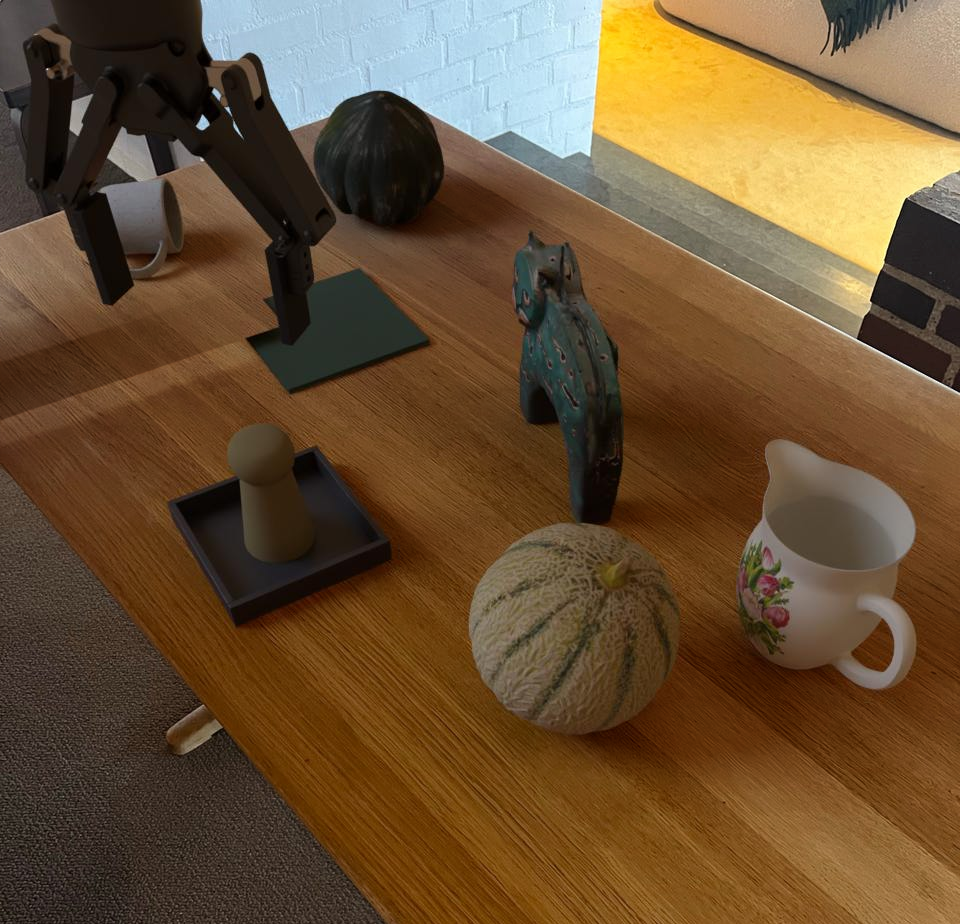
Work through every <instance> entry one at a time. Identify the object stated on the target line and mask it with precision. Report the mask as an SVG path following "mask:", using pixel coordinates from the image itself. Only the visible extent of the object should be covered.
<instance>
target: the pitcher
mask: <svg viewBox="0 0 960 924" xmlns="http://www.w3.org/2000/svg"><path fill="white" fill-rule="evenodd" d="M764 451H765V452H764V454H765V455H764V457H765V459H766V460H765V461H766V465H767V470H768V474H769V476H770V477H769V482H768V485H767V488H766V491H765V493H764V496H763V502H762V517H761V520H760V521H759V522H758V524H757V525H756V526H755V527H754V529H753V531H752V532H751V534H750V535H749V537H748V539H747V542H746V544H745V546H744V549H743V551H742V554H741V558H740V560H739V565H738V570H737V574H736V575H737V576H736V592H735V593H736V604H737V605H736V606H737V611H738V615H739V619H740V623H741V626H742V629H743V631H744V633H745V635H746V637H747V638H748V640H749V641H750V643H751V644H752V645H753V646H754V647H755V649H756V650H757V651H758V652H759V654H760V655H762V656H763V657H764V658H765V659H767V660H768V661H769V662H772V663H773V664H775V665H777V666H780V667H783V668H787V669H791V670H809V669H814V668H817V667H821V666H826V665H828V664H829V665H831V666H833V667H834V668H835V669H836V670H837V671H839V672H840V673H841V674H842V675H843V676H844V677H846V678H847V679H848V680H850V681H851V682H852V683H854V684H856V685H858V686H860V687H862V688H865V689H868V690H872V691H883V690H888V689H892V688H894V687H895V686H897V685H898V684H900V683H901V682H902V681H903V680H904V679H905V678H906V676H907V675H908V673H909V671H910V669H911V668H912V667H913V666H912V665H913V663H914V661H915V660H914V659H915V657H916V652H917V635H916V631H915V626H914V624H913V622H912V618H910V616H909V614H908V612H907V611H906V610H905V609H904V608H903V607H902V605H900V604H899V603H897V602H896V601H895V600H893V597H894V596H895V595H894V594H895V591H896V587H897V582H898V572H899V571H898V570H899V564H900V563H901V562H902V561H903V560H904V559H905V558H906V556H907V555H908V554H909V552H910V551H911V549H912V547H913V545H914V544H915V541H916V537H917V525H916V524H917V523H916V519H915V517H914V514H913V512H912V510H911V508H910V506H908V504H907V503H906V501H905V500H904V499H903V497H901V496H900V495H899V493H898V492H896V491H895V490H894V489H893V488H892V487H891V486H890V485H888V484H887V483H886V482H884V481H882V480H881V479H879V478H877V477H876V476H874V475H872V474H870V473H868V472H867V471H865V470H861V469H859V468H856V467H853V466H850V465H847V464H843V463H840V462H836V461H832V460H829V459H827V458H824V457H822V456H820V455H818V454H817V453H815V452H814V451H812V450H810V449H809V448H807V447H805V446H803V445H801V444H799V443H796V442H794V441H792V440H789V439H783V438H777V439H773V440H771V441H769V442H768V443H767V444H766V446H765V449H764ZM882 620H884V621H885V622H886V624H887V625H888V627H889V629H890V632H891V634H892V638H893V644H894V646H893V647H894V649H893V655H892V656H893V657H892V659H891V662H890V664H889V665H888V667H887V668H886V669H885V671H880V670H879V671H878V670H874V669H871V668H868V667H866V666H865V665H863V664H862V663H860V662H859V661H858V660H857V659H856V658H855V657H854V656H853V655H852V652H853V651H854V650H855V649H856V648H857V647H859V646H860V645H861V644H862V643H864V641H865V640H867V639H868V638H869V637H870V636H871V635H872V633H873V632H874V630H875V629H876V628H877V627H878V625H879V624H880V623H881V622H882Z"/></svg>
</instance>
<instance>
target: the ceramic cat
mask: <svg viewBox="0 0 960 924" xmlns="http://www.w3.org/2000/svg"><path fill="white" fill-rule="evenodd" d="M528 232H529V233H528V235H527V236H528V238H527V239H528V240H527V242H526V244H525V246H523V247H522V248H520V249H518V250H517V251H516V254H515V256H514V261H513V276H512V277H513V279H512V280H513V282H512V287H511V301H512V306H513V307H512V308H513V311H514V313H515V314H516V315H517V317H518V323H519V324H520V325H522V326H523V327H524V328H525V329H524V333H523V340H522V346H521V358H520V364H519V371H518V373H519V408H520V410H521V412H522V415H523V416H524V418H525V421H526V422H527V423H529V424H535V425H538V424H547V423H551V422H555V421H558V422H559V426H560V430H561V433H562V438H563V443H564V448H565V452H566V453H565V454H566V456H567V463H568V483H569V485H568V487H569V502H570V510H571V514H572V516H573V518H574V520H575V521H576V523H586V524H594V525H596V524H599V523H608V522H611V519H612V517H613V516H612V515H613V512H614V511H613V510H614V507H615V504H616V501H617V497H618V492H619V486H620V482H621V476H622V471H623V465H624V436H625V435H624V433H625V430H624V427H625V425H624V410H623V403H622V396H621V395H622V394H621V390H620V389H621V386H620V382H619V379H618V378H619V377H618V375H619V358H620V357H619V347H618V345H617V344H618V343H616V342H615V340H614V339H613V337H612V336H611V335H610V334H609V333H608V331H607V330H606V328H605V326H603V324H602V321H601V319H600V317H599V315H598V314H597V312H596V310H595V309H594V308H593V306H592V305H591V304H590V303H589V301H588V299H587V296H586V293H585V290H584V287H583V281H582V276H581V275H582V274H581V269H580V265H579V261H578V258H577V255H576V252H575V251H574V250H573V248H572V247H571V245H570V243H569V242H567V241H563V242H562V244H558V243H557V244H556V243H554V244H553V243H551V244H545V243H544V242H543V241H542V240H541V239H539V237H538V236H537V235H536V234H535V232H534V230H531V229H528Z"/></svg>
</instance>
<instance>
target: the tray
mask: <svg viewBox="0 0 960 924" xmlns="http://www.w3.org/2000/svg"><path fill="white" fill-rule="evenodd" d="M292 471H293V474H294V477H295V479H296V482H297V485H298V487H299V490H300V492H301V495H302V498H303V500H304V503H305V506H306V508H307V511H308V514H309V516H310V519H311V521H312V524H313V527H314V529H315V540H314V542H313V545H312V547H311V548H310V549H309V550H308V551H307V552H306V553H305V554H303V555H302V556H300V557H298V558H296V559H294V560H291V561H287V562H282V563H270V562H264V561H261V560H259V559H257V558H255V557H253V556H252V555H251V554H250V553H249V552H248V551H247V548H246V545H245V540H244V527H243V515H242V503H241V491H240V479H239V478H238V477H237V476H236V475H234V476H230V477H228V478H226V479H223V480H221V481H218V482H215V483H213V484H210V485H207V486H204V487H202V488H199V489H196V490H194V491H192V492H189V493H186V494H184V495H181V496H178V497H175V498H173V499H170V500H168V501H166V504H167V507H168V511H169V514H170V516H171V519H172V522H173V524H174V525H175V527H176V529H177V530H178V532H179V534H180V535H181V537H182V539H183V540H184V542H185V543H186V546H187V547H188V549H189V551H190V552H191V554H192V556H193V557H194V559H195V561H196V562H197V565H198V566H199V567H200V569H201V571H202V573H203V574H204V576H205V578H206V580H207V581H208V583H209V584H210V586H211V588H212V590H213V591H214V593H215V595H216V597H217V598H218V600H219V601H220V603H221V605H222V606H223V609H224V610H225V611H226V613H227V616H229V618H230V620H231V622H232V623H233V625H234V626H235V628H238V627H240V626H242V625H244V624H247V623H250V622H251V621H254V620H256V619H258V618H261V617H264V616H265V615H267V614H270V613H272V612H275V611H277V610H279V609H282V608H284V607H286V606H289V605H290V604H293V603H295V602H298V601H300V600H302V599H304V598H307V597H310V596H311V595H313V594H316V593H318V592H319V593H320V592H321V591H323V590H325V589H328V588H330V587H332V586H334V585H337V584H340V583H342V582H344V581H346V580H348V579H351V578H353V577H356V576H358V575H360V574H363V573H364V572H367V571H369V570H372V569H374V568H376V567H378V566H381V565H384V564H385V563H388V562H390V561H392V560H393V553H392V545H391V544H392V543H391V540H390V538H389V537H388V536H387V534H386V533H385V532H384V531H383V529H382V528H381V527H380V525H379V524H378V523H377V521H376V520H375V519H374V518H373V517H372V515H371V513H370V512H369V511H368V510H367V509H366V507H365V506H364V505H363V504H362V502H361V501H360V499H359V498H358V497H357V496H356V495H355V493H354V492H353V490H352V489H351V488H350V487H349V485H348V484H347V483H346V482H345V480H344V479H343V478H342V476H341V475H340V473H339V472H338V471H337V470H336V468H335V467H334V466H333V465H332V463H331V462H330V461H329V459H328V458H327V457H326V455H325V454H324V453H323V452H322V450H321V449H320V448H319V446H318V445H317V444H315V445H312V446H310V447H308V448H305V449H303V450H299V451H297V452H295V459H294V465H293V467H292Z"/></svg>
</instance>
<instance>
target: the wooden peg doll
mask: <svg viewBox="0 0 960 924" xmlns="http://www.w3.org/2000/svg"><path fill="white" fill-rule="evenodd" d="M226 453H227V454H226V459H227V461H228V465H229V467H230V469H231V471H232V472H233V474H234V476H237V477H238V478H239V479H240V491H241V503H242V515H243V527H244V540H245V545H246V548H247V551H248V552H249V553H250V554H251V555H252V556H253V557H255V558H257V559H259V560H261V561H264V562H270V563H282V562H287V561H291V560H294V559H296V558H298V557H300V556H302V555H303V554H305V553H306V552H307V551H308V550H309V549H310V548H311V547H312V545H313V542H314V540H315V529H314V527H313V524H312V521H311V519H310V516H309V514H308V511H307V508H306V506H305V503H304V500H303V498H302V495H301V492H300V490H299V487H298V485H297V482H296V479H295V477H294V474H293V471H292V467H293V465H294V459H295V453H296V451H295V446H294V443H293V441H292V439H291V438H290V435H289V434H288V433H287V432H286V431H284V430H283V429H282V428H281V427H279V426H277V425H275V424H271V423H264V422H262V423H254V424H249V425H246V426H244V427H242V428H240V429H238V431H236V432H235V433H234V434H232V437H231V439H230V441H229V442H228V444H227V452H226Z"/></svg>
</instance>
